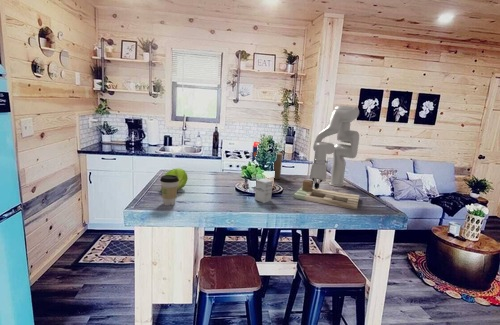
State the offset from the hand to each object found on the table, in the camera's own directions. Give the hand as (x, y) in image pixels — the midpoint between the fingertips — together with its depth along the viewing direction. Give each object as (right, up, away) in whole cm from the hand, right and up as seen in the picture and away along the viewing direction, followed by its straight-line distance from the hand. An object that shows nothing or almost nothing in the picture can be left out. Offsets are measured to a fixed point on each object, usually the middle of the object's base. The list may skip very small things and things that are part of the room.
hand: (316, 188), depth 202 cm
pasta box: (-40, +3, +23) cm, 46 cm away
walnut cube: (-6, -1, +1) cm, 6 cm away
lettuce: (-92, 0, -11) cm, 93 cm away
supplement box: (-37, -6, -20) cm, 43 cm away
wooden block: (-26, +5, +39) cm, 47 cm away
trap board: (+5, -6, -7) cm, 11 cm away
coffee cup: (-89, -5, -37) cm, 96 cm away
